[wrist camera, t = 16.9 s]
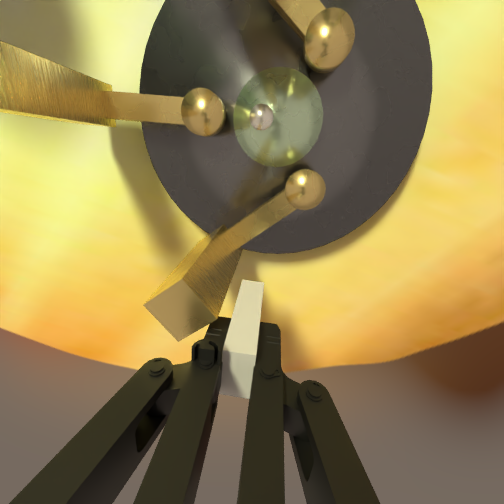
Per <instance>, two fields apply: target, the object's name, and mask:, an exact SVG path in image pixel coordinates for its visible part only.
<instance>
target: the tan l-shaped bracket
mask: <svg viewBox="0 0 504 504" xmlns="http://www.w3.org/2000/svg"><path fill="white" fill-rule="evenodd" d="M268 1H269V2H270V4H271V5H272V6H273V7H274V8H275V9H276V11H277V12H278V13H279V14H280V15H281V17H282V18H283V19H284V20H285V21H286V22H287V24H288V25H289V26H290V27H291V28H292V30H293V31H294V32H295V33H296V34H297V35H298V37H299V38H300V39H301V40H302V41H303V42H304V45H303V54H304V59H305V61H306V63H307V65H308V66H309V67H310V68H311V69H312V70H313V71H315V72H318V73H329V72H331V71H334V70H335V69H337V68H338V67H339V66H340V65H341V64H342V62H343V61H344V60H345V58H346V57H347V56H348V54H349V53H350V51H351V49H352V46H353V43H354V38H355V28H354V24H353V21H352V19H351V17H350V16H349V14H348V13H347V12H345V11H344V10H342V9H340V8H336V7H331V8H327V9H326V8H325V7H324V5H323V4H322V3H321V2H320V0H268Z"/></svg>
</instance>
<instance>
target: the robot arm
mask: <svg viewBox="0 0 504 504" xmlns="http://www.w3.org/2000/svg"><path fill="white" fill-rule="evenodd" d="M263 289H264V282H256V281H249V280H242V283H241V286H240V290H239V293H238V297H237V301H236V304H235V308H234V311H233V315H232V318H226V317H219V316H218V318H217V320H215V321H213V322H211V323H210V325H209V327H208V330H207V332H206V335H205V337H204V339H202V340H199V341H197V342H196V343H194V345H193V346H192V360H191V361H190V362H187V363H184V364H177V365H172V363H171V361H169V360H168V359H166V358H154V359H152V360H149V361H148V362H147V363H145V364H144V365H143V366H142V367H141V368H140V369H139V370H138V371H137V372H136V373H135V374H134V376H133V377H132V378H131V379H130V380H129V381H128V382H127V383H126V384H125V385H124V386H123V387H122V388H121V389H120V390H119V391H118V392H117V393H116V394H115V395H114V396H113V397H112V398H111V399H110V400H109V401H108V402H107V403H106V404H105V405H104V406H103V407H102V409H100V410H99V412H97V414H96V415H95V416H94V417H93V418H92V419H91V420H90V421H89V422H88V423H87V424H86V425H85V426H84V427H83V428H82V429H81V430H80V431H79V432H78V433H77V434H76V435H75V436H74V437H73V438H72V439H71V440H70V441H69V442H68V443H67V444H66V446H64V448H63V449H62V450H61V451H60V452H59V453H58V454H57V455H56V456H55V457H54V458H53V459H52V460H51V461H50V462H49V463H48V464H47V465H46V466H45V467H44V468H43V469H42V470H41V471H40V472H39V473H38V474H37V475H36V476H35V477H34V478H33V479H32V480H31V482H30V483H29V484H28V485H27V486H26V487H25V488H24V489H23V490H22V491H21V492H20V493H19V494H18V495H17V496H16V497H15V498H14V499H13V500H12V501H11V502H10V503H9V504H112V503H113V502H114V500H115V499H116V497H117V496H118V494H119V493H120V491H121V490H122V489H123V487H124V485H125V484H126V482H127V481H128V480H129V478H130V477H131V475H132V473H133V472H134V471H135V469H136V468H137V466H138V465H139V463H140V462H141V460H142V458H143V457H144V456H145V454H146V453H147V451H148V450H149V448H150V447H151V445H152V444H153V442H154V441H155V439H156V438H157V436H158V435H159V433H160V432H161V430H162V429H163V428H164V430H163V433H162V435H161V437H160V440H159V442H158V445H157V447H156V449H155V452H154V454H153V457H152V459H151V462H150V464H149V467H148V469H147V472H146V474H145V476H144V479H143V481H142V484H141V486H140V489H139V491H138V493H137V496H136V499H135V501H134V503H133V504H194V501H195V497H196V492H197V489H198V485H199V480H200V476H201V472H202V468H203V463H204V459H205V455H206V451H207V446H208V442H209V438H210V434H211V430H212V425H213V421H214V417H215V412H216V408H217V402H218V395H219V394H223V395H230V396H235V397H241V398H247V399H249V407H248V415H247V424H246V431H245V440H244V448H243V456H242V465H241V474H240V481H239V490H238V498H237V504H285V493H284V491H285V489H284V431H286V432H288V433H289V436H290V440H291V444H292V448H293V452H294V456H295V460H296V463H297V467H298V471H299V475H300V479H301V483H302V486H303V491H304V494H305V498H306V502H307V504H380V502H379V500H378V498H377V496H376V494H375V491H374V489H373V487H372V485H371V483H370V480H369V479H368V476H367V474H366V472H365V470H364V467H363V466H362V463H361V461H360V459H359V457H358V455H357V453H356V450H355V448H354V446H353V444H352V442H351V439H350V437H349V435H348V433H347V431H346V429H345V426H344V424H343V422H342V420H341V418H340V416H339V413H338V411H337V409H336V407H335V405H334V403H333V400H332V398H331V397H330V394H329V392H328V391H327V389H326V388H325V387H324V386H323V385H322V384H321V383H319V382H316V381H312V380H307V381H304V382H302V383H301V384H299V383H297V382H295V381H293V380H291V379H289V378H288V377H287V376H286V375H285V374H284V373H283V371H282V369H281V345H280V344H281V339H280V338H281V335H280V329H279V327H278V326H277V324H271V323H264V322H260V317H261V307H262V298H263ZM219 391H220V393H219ZM164 426H165V427H164Z"/></svg>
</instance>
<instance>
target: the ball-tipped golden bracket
mask: <svg viewBox="0 0 504 504" xmlns="http://www.w3.org/2000/svg"><path fill="white" fill-rule="evenodd" d="M325 190H326V187H325V182H324V180H323V178H322V177H321V176H320V175H319V174H318V173H317V172H315V171H313V170H310V169H300V170H297V171H295V172H293V173H292V174H291V175H290V176H289V177H288V179H287V181H286V184H285V189H284V190H282V191H281V192H279V193H278V194H276V195H275V196H274V197H272V198H271V199H269V200H268V201H267V202H265V203H264V204H262V205H261V206H259V207H258V208H257V209H255V210H254V211H252V212H251V213H249V214H248V215H247V216H245V217H244V218H242V219H241V220H239V221H238V222H237V223H235V224H234V225H232V226H231V227H229V228H228V229H227V228H226V226H225V225H224V224H223V225H222V226H220V227H219V228H217V229H216V230H215V231H213V232H212V233H210V234H209V235H208V236H206V237H205V238H203V239H202V240H200V241H199V242H198V244H197V245H196V246H195V247H194V248H193V249H192V250H191V251H190V253H189V254H188V255H187V256H186V257H185V258H184V259H183V260H182V262H181V263H180V264H179V265H178V266H177V267H176V268H175V270H174V271H173V272H172V273H171V274H170V275H169V276H168V277H167V279H166V280H165V281H164V282H163V283H162V284H161V285H160V286H159V288H158V289H157V290H156V291H155V292H154V293H153V294H152V295H151V297H150V298H149V299H148V300H147V301H146V302H145V303H144V306H145V307H146V308H147V310H148V311H149V312H150V313H151V314H152V315H153V316H154V317H155V318H156V319H157V320H158V321H159V322H160V323H161V324H162V325H163V326H164V327H165V328H166V329H167V330H168V332H169V333H170V334H171V335H172V336H173V337H174V338H175V339H176V340H177V341H178V342H179V341H180V340H182V339H184V338H185V337H187V336H189V335H191V334H192V333H194V332H196V331H198V330H199V329H201V328H203V327H204V326H206V325H208V324H210V323H211V322H213V321H215V320H217V318H218V315H219V313H220V310H221V307H222V304H223V302H224V299H225V296H226V293H227V291H228V288H229V285H230V282H231V280H232V277H233V274H234V272H235V269H236V266H237V263H238V261H239V258H240V255H241V252H242V250H243V249H242V247H241V246H242V245H243V244H245V243H246V242H248V241H249V240H251V239H252V238H254V237H255V236H257V235H258V234H260V233H261V232H263V231H264V230H266V229H267V228H269V227H271V226H272V225H274V224H275V223H277V222H278V221H280V220H281V219H283V218H284V217H286V216H287V215H289V214H290V213H292V212H293V211H295V210H296V209H299V210H309V209H312V208H314V207H316V206H317V205H318V204H320V202H321V201H322V200H323V198H324V195H325Z"/></svg>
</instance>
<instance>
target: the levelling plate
mask: <svg viewBox="0 0 504 504" xmlns="http://www.w3.org/2000/svg"><path fill="white" fill-rule="evenodd" d="M320 2H321V3H322V4H323V5H324V7H325V8H326V9H327V8H331V7H336V8H340V9H342V10H344V11H345V12H347V13H348V14H349V16H350V17H351V19H352V21H353V24H354V28H355V38H354V43H353V46H352V49H351V51H350V53H349V54H348V56H347V57H346V58H345V60H344V61H343V62H342V64H341V65H340V66H339V67H338V68H337V69H335V70H334V71H331V72H329V73H318V72H315V71H313V70H312V69H311V68H310V67H309V66H308V65H307V63H306V61H305V59H304V54H303V45H304V42H303V41H302V40H301V39H300V38H299V37H298V35H297V34H296V33H295V32H294V31H293V30H292V28H291V27H290V26H289V25H288V24H287V22H286V21H285V20H284V19H283V18H282V17H281V15H280V14H279V13H278V12H277V11H276V9H275V8H274V7H273V6H272V5H271V4H270V2H269V1H268V0H165V2H164V4H163V6H162V8H161V10H160V12H159V14H158V16H157V18H156V20H155V22H154V24H153V27H152V30H151V33H150V36H149V39H148V42H147V45H146V49H145V54H144V59H143V63H142V69H141V79H140V94H149V95H162V96H174V97H185V96H186V94H187V93H188V92H189V91H191V90H193V89H195V88H206V89H209V90H211V91H212V92H213V93H214V94H216V95H217V96H218V97H219V98H220V100H221V101H222V102H223V104H224V107H225V110H226V121H225V124H224V127H223V128H222V130H221V131H220V132H219V133H218V134H216V135H214V136H211V137H204V136H200V135H196V134H194V133H192V132H191V131H190V130H189V129H188V128H187V127H186V126H183V125H172V124H160V123H149V122H141V123H142V130H143V135H144V139H145V143H146V147H147V150H148V153H149V156H150V159H151V161H152V164H153V167H154V169H155V171H156V173H157V175H158V177H159V179H160V181H161V183H162V185H163V186H164V188H165V189H166V191H167V192H168V194H169V195H170V197H171V198H172V200H173V201H174V202H175V203H176V204H177V206H178V207H179V208H180V209H181V211H183V212H184V213H185V214H186V215H187V216H188V217H189V218H190V219H191V220H192V221H193V222H194V223H195V224H197V225H198V226H199V227H201V228H202V229H203V230H204V231H206V232H207V233H209V234H210V233H212V232H213V231H215V230H216V229H217V228H219V227H220V226H222V225H223V224H224V225H225V226H226V228H227V229H228V228H229V227H231V226H232V225H234V224H235V223H237V222H238V221H239V220H241V219H242V218H244V217H245V216H247V215H248V214H249V213H251V212H252V211H254V210H255V209H257V208H258V207H259V206H261V205H262V204H264V203H265V202H267V201H268V200H269V199H271V198H272V197H274V196H275V195H276V194H278V193H279V192H281V191H282V190H284V189H285V184H286V181H287V179H288V177H289V176H290V175H291V174H292V173H293V172H295V171H297V170H300V169H310V170H313V171H315V172H317V173H318V174H319V175H320V176H321V177H322V178H323V180H324V182H325V187H326V190H325V195H324V198H323V200H322V201H321V202H320V204H318V205H317V206H316V207H314V208H312V209H309V210H299V209H296V210H295V211H293V212H292V213H290V214H289V215H287V216H286V217H284V218H283V219H281V220H280V221H278V222H277V223H275V224H274V225H272V226H271V227H269V228H267V229H266V230H264V231H263V232H261V233H260V234H258V235H257V236H255V237H254V238H252V239H251V240H249V241H248V242H246V243H245V244H243V245H242V246H241V247H242V249H246V250H250V251H255V252H261V253H275V254H281V253H295V252H300V251H305V250H310V249H313V248H317V247H320V246H323V245H326V244H328V243H330V242H332V241H335V240H337V239H339V238H341V237H343V236H345V235H346V234H348V233H350V232H351V231H353V230H355V229H356V228H357V227H359V226H360V225H361V224H363V223H364V222H365V221H367V220H368V219H369V218H370V217H371V216H372V215H373V214H375V213H376V212H377V211H378V210H379V209H380V208H381V207H382V206H383V205H384V204H385V202H386V201H387V200H388V199H389V198H390V196H391V195H392V194H393V193H394V192H395V190H396V189H397V187H398V186H399V184H400V183H401V181H402V180H403V178H404V177H405V175H406V174H407V172H408V170H409V168H410V166H411V164H412V162H413V160H414V158H415V156H416V154H417V152H418V149H419V146H420V143H421V141H422V138H423V135H424V132H425V128H426V124H427V120H428V116H429V111H430V103H431V95H432V60H431V52H430V45H429V39H428V36H427V32H426V28H425V25H424V21H423V18H422V15H421V13H420V11H419V8H418V6H417V4H416V1H415V0H320Z"/></svg>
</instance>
